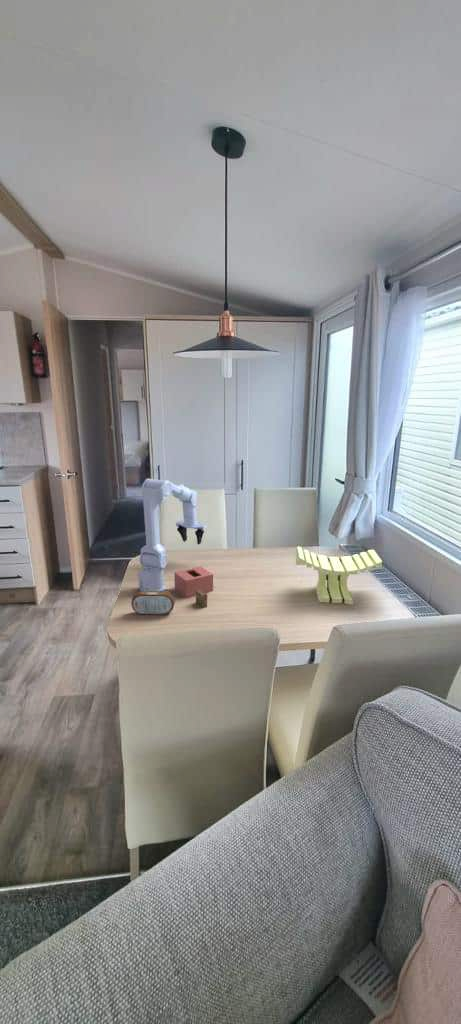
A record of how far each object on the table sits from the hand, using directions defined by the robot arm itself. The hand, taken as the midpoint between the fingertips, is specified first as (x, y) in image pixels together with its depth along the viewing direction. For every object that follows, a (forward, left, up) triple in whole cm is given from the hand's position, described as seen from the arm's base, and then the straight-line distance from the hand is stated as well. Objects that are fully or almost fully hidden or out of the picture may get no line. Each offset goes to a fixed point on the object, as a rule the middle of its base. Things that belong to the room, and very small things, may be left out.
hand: (192, 542), depth 199 cm
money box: (-13, -25, -10) cm, 31 cm away
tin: (-35, -35, -11) cm, 51 cm away
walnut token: (-17, -38, -11) cm, 43 cm away
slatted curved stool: (+32, -58, -11) cm, 67 cm away
